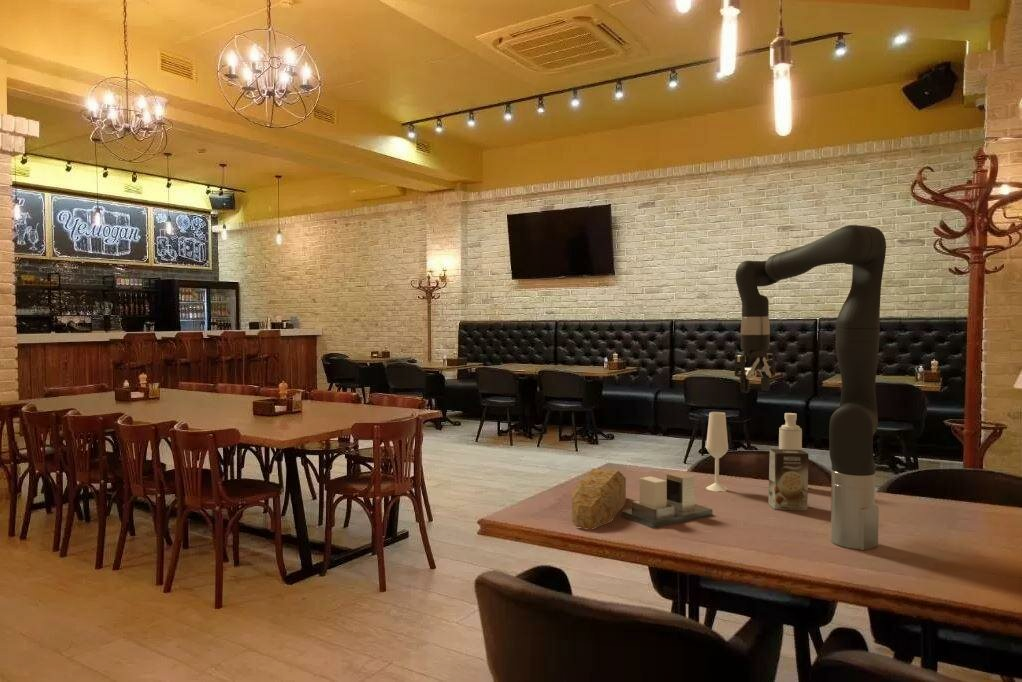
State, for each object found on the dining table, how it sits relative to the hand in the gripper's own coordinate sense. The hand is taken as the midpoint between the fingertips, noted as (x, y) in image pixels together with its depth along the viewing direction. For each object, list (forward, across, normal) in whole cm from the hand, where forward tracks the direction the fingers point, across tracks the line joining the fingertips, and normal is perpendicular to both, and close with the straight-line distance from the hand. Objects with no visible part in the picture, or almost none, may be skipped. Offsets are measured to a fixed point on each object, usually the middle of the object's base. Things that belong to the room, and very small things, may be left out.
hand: (755, 391), depth 188 cm
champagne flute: (+33, +10, +22) cm, 42 cm away
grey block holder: (+33, -24, +10) cm, 42 cm away
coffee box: (+34, +11, -2) cm, 35 cm away
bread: (+34, -36, +24) cm, 55 cm away
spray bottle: (+34, +31, +12) cm, 47 cm away
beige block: (+32, -29, +10) cm, 44 cm away
